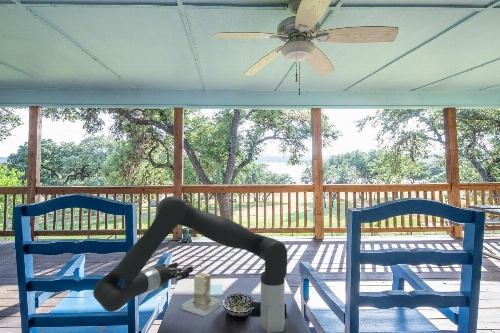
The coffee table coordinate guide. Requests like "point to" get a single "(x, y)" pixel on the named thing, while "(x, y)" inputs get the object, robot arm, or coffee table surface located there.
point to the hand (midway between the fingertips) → (184, 266)
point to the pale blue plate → (216, 290)
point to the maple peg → (202, 289)
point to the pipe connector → (258, 308)
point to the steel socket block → (199, 309)
